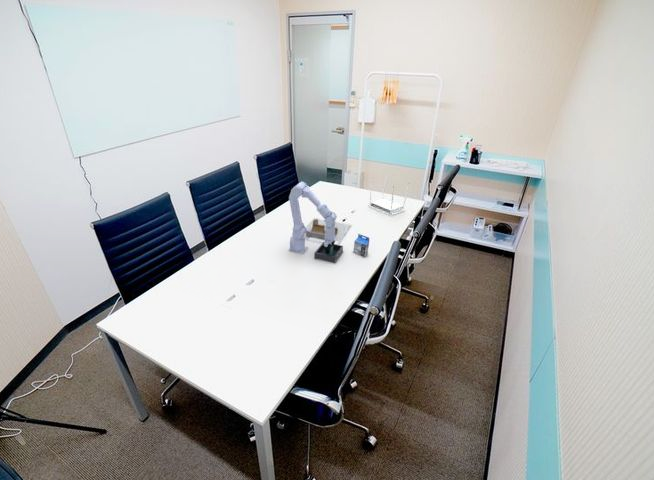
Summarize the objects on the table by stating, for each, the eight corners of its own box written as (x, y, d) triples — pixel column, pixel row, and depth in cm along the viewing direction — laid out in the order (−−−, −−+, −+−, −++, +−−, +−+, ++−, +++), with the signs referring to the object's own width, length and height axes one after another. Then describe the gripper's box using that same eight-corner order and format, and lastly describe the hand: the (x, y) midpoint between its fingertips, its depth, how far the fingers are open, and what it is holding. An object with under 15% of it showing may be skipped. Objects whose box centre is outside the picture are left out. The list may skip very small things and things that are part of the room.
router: (382, 201, 291) (386, 174, 278) (405, 210, 274) (410, 182, 261) (367, 206, 281) (370, 178, 268) (389, 216, 264) (394, 186, 251)
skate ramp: (296, 238, 232) (296, 228, 228) (314, 218, 259) (314, 209, 255) (337, 245, 222) (337, 235, 218) (350, 225, 250) (351, 216, 246)
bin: (314, 258, 208) (314, 252, 206) (323, 247, 220) (323, 241, 218) (335, 263, 204) (335, 257, 201) (342, 251, 216) (343, 245, 214)
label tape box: (352, 252, 215) (354, 235, 209) (356, 250, 218) (358, 233, 211) (364, 257, 210) (366, 239, 204) (367, 254, 213) (370, 237, 206)
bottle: (323, 255, 211) (324, 243, 206) (326, 252, 215) (327, 240, 210) (331, 257, 209) (331, 245, 205) (333, 253, 213) (334, 241, 208)
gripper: (332, 238, 196) (331, 258, 204) (339, 228, 208) (338, 247, 215) (321, 236, 199) (320, 255, 206) (329, 226, 210) (328, 245, 217)
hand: (328, 251), depth 211 cm, fingers closed on bottle, 5 cm apart
